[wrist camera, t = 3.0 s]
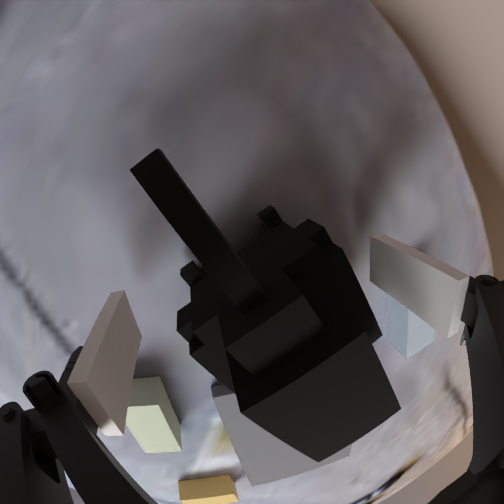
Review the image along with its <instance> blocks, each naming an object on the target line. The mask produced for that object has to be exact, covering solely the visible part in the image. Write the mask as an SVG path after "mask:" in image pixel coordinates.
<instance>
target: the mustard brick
mask: <svg viewBox="0 0 504 504" xmlns="http://www.w3.org/2000/svg"><path fill="white" fill-rule="evenodd" d="M178 485H179V495H180V501H181V502H182V503H184V504H225V503H232V502H237V501H239V499H238V495H237V491H236V487H235V483H234V481H233V480H232V478H231V476H230V475H229V474H227V475H221V476H215V477H208V478H201V479H193V480H183V481H178Z"/></svg>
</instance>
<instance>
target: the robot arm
mask: <svg viewBox="0 0 504 504" xmlns="http://www.w3.org/2000/svg"><path fill="white" fill-rule="evenodd" d="M370 281H371V282H372V283H374V284H375V285H376V286H378V287H379V288H381V289H382V290H383V291H385V292H386V293H387V294H389V295H390V296H391V297H393V298H394V299H396V300H397V301H398V302H400V303H401V304H402V305H404V306H405V307H406V308H408V309H409V310H410V311H412V312H413V313H414V314H416V315H417V316H418V317H419V318H421V319H422V320H423V321H425V322H426V323H427V324H429V325H430V326H431V327H432V328H434V329H435V330H436V331H438V332H439V333H440V334H441V335H443V336H444V337H445V338H446V339H447V338H449V337H451V336H452V335H454V334H456V333H457V332H458V329H459V325H460V321H463V322H464V323H465V327H464V331H463V335H462V338H461V341H460V345H462V344H463V341H464V340H465V341H466V343H465V345H466V347H467V353H468V360H469V368H470V377H471V387H472V401H473V456H472V460H471V462H470V465H469V467H468V469H467V472H465V473H464V474H463V475H462V476H460V477H459V478H458V479H457V480H455V481H454V482H453V483H451V484H450V485H449V486H447V487H446V488H445V489H443V490H442V491H441V492H440V493H439V494H437V496H435V497H434V498H433V499H432V500H431V501H430V502H429V503H428V504H504V281H499V280H498V279H496V278H495V277H493V276H490V275H479V276H477V277H476V278H473V277H471V276H469V275H467V274H465V273H463V272H461V271H459V270H458V269H456V268H454V267H452V266H450V265H448V264H446V263H444V262H442V261H440V260H437V259H435V258H433V257H431V256H429V255H427V254H425V253H423V252H421V251H419V250H417V249H414V248H412V247H410V246H408V245H406V244H404V243H401V242H399V241H397V240H395V239H392V238H390V237H388V236H386V235H383V234H381V233H379V234H375V235H371V236H370ZM141 337H142V336H141V333H140V331H139V328H138V326H137V323H136V321H135V318H134V316H133V313H132V310H131V308H130V305H129V302H128V299H127V297H126V294H125V291H124V290H123V291H118V292H113V293H111V294H110V295H109V297H108V299H107V301H106V303H105V305H104V307H103V308H102V310H101V312H100V314H99V316H98V318H97V320H96V322H95V324H94V326H93V328H92V330H91V332H90V334H89V336H88V338H87V340H86V342H85V344H84V346H79V347H78V348H77V349H76V350H75V351H74V352H73V353H72V355H71V357H70V359H69V361H68V364H67V365H66V367H65V370H64V371H63V373H62V376H61V378H60V380H59V382H57V381H56V379H55V378H54V376H53V374H52V373H50V372H49V371H40V372H37V373H35V374H33V375H32V376H31V377H29V378H28V379H27V381H26V382H25V384H24V386H23V393H24V394H25V395H26V397H27V398H28V399H29V401H30V402H31V403H32V405H33V406H34V407H35V408H33V409H29V410H26V411H24V410H23V409H22V408H21V406H20V405H19V404H18V403H17V402H8V403H7V404H4V405H3V406H2V407H1V408H0V504H74V503H73V500H72V497H71V494H70V491H69V487H68V484H67V480H66V477H65V473H64V470H65V472H66V474H67V475H68V477H69V479H70V481H71V482H72V484H73V486H74V487H75V489H76V490H77V492H78V494H79V495H80V497H81V498H82V500H83V501H84V503H85V504H158V503H157V502H155V501H154V500H153V499H152V498H151V497H150V496H149V495H148V494H147V493H146V492H145V491H144V490H143V489H142V488H141V487H140V486H139V485H138V483H137V482H136V481H135V480H134V479H133V478H132V477H131V476H130V475H129V474H128V473H127V471H126V470H125V469H124V468H123V467H122V466H121V465H120V463H119V462H118V461H117V460H116V459H115V457H114V456H113V455H112V454H111V452H110V451H109V450H108V449H107V447H106V446H105V445H104V444H103V442H102V441H101V440H100V438H99V437H98V436H97V435H96V434H97V429H98V427H99V428H100V429H101V431H102V432H103V433H104V434H105V436H121V435H124V430H125V423H126V416H127V409H128V403H129V397H130V391H131V386H132V380H133V375H134V370H135V365H136V360H137V355H138V350H139V346H140V341H141ZM63 468H64V469H63Z"/></svg>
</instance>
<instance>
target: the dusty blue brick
mask: <svg viewBox="0 0 504 504" xmlns="http://www.w3.org/2000/svg"><path fill="white" fill-rule="evenodd" d="M386 299H387V319H388V342H389V343H390V344H391V345H392V346H393V347H394V348H395V349H396V350H397V351H398V352H399V353H400V354H401V355H402V356H403V357H404V358H405V359H408V358H410V357H411V356H413V355H414V354H416V353H417V352H419V351H420V350H422V349H423V348H425V347H426V346H428V345H429V344H431V343H432V342H433V336H434V328H432V327H431V326H430V325H429V324H427V323H426V322H425V321H423V320H422V319H421V318H419V317H418V316H417V315H416V314H414V313H413V312H412V311H410V310H409V309H408V308H406V307H405V306H404V305H402V304H401V303H400V302H398V301H397V300H396V299H394V298H393V297H391V296H390V295H389V294H387V293H386Z"/></svg>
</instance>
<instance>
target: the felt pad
mask: <svg viewBox="0 0 504 504" xmlns="http://www.w3.org/2000/svg"><path fill="white" fill-rule="evenodd" d="M211 389H212V396H213V399H214V402H215V405H216V407H217V410H218V412H219V414H220V417H221V419H222V422H223V424H224V426H225V429H226V431H227V434H228V436H229V438H230V440H231V443H232V445H233V447H234V449H235V452H236V454H237V456H238V458H239V460H240V463H241V465H242V467H243V469H244V471H245V473H246V475H247V477H248V479H249V481H250V483H251V485H252V486H256V485H260V484H265V483H269V482H273V481H276V480H280V479H284V478H287V477H291V476H294V475H297V474H300V473H304V472H307V471H310V470H313V469H315V468H318V467H321V466H324V465H327V464H329V463H332V462H334V461H337V460H339V459H342V458H344V457H347V456H349V454H350V450H351V446H352V444H350V445H348V446H347V447H345V448H343V449H342V450H340V451H338V452H337V453H335V454H333V455H331V456H330V457H328V458H326V459H324V460H322V461H321V462H319V463H318V462H316V461H315V460H313V459H311V458H309V457H308V456H306V455H304V454H302V453H301V452H299V451H297V450H296V449H294V448H292V447H291V446H289V445H287V444H286V443H284V442H283V441H281V440H280V439H278V438H276V437H275V436H273V435H272V434H270V433H269V432H267V431H266V430H264V429H263V428H261V427H260V426H258V425H257V424H255V423H254V422H253V421H251V420H250V419H248V418H247V417H245V416H244V415H243V414H241V413H240V409H239V406H238V402H237V398H236V394H235V393H233V392H232V391H231V390H230V389H229V388H227V387H226V386H225V385H224V384H220V385H216V386H211Z"/></svg>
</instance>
